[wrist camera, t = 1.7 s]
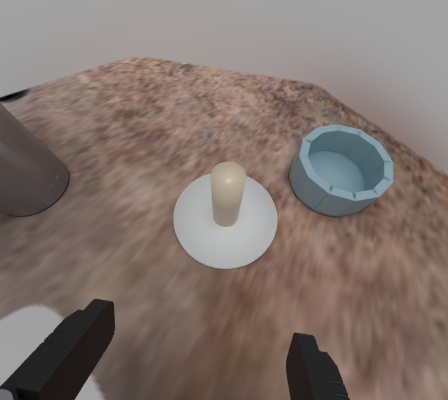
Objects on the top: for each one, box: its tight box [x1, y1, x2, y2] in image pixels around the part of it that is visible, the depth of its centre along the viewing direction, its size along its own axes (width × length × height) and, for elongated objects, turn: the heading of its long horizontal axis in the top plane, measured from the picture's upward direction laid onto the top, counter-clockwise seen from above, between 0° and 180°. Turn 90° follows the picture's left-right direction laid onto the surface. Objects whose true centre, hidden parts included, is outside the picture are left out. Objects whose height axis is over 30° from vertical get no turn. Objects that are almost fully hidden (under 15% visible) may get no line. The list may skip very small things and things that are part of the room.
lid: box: [173, 162, 277, 269], centre depth 24 cm, size 13×13×10 cm
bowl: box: [289, 125, 393, 217], centre depth 29 cm, size 11×11×5 cm
